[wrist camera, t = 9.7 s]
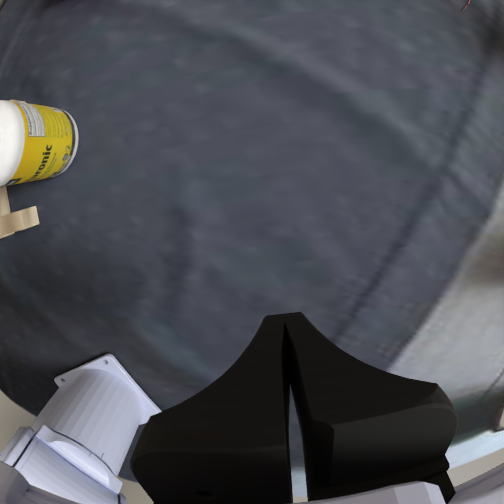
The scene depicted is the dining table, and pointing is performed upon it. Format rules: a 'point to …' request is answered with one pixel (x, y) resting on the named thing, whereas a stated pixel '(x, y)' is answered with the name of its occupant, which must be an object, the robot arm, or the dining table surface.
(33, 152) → the supplement bottle
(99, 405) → the robot arm
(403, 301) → the dining table surface
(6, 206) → the u rest
